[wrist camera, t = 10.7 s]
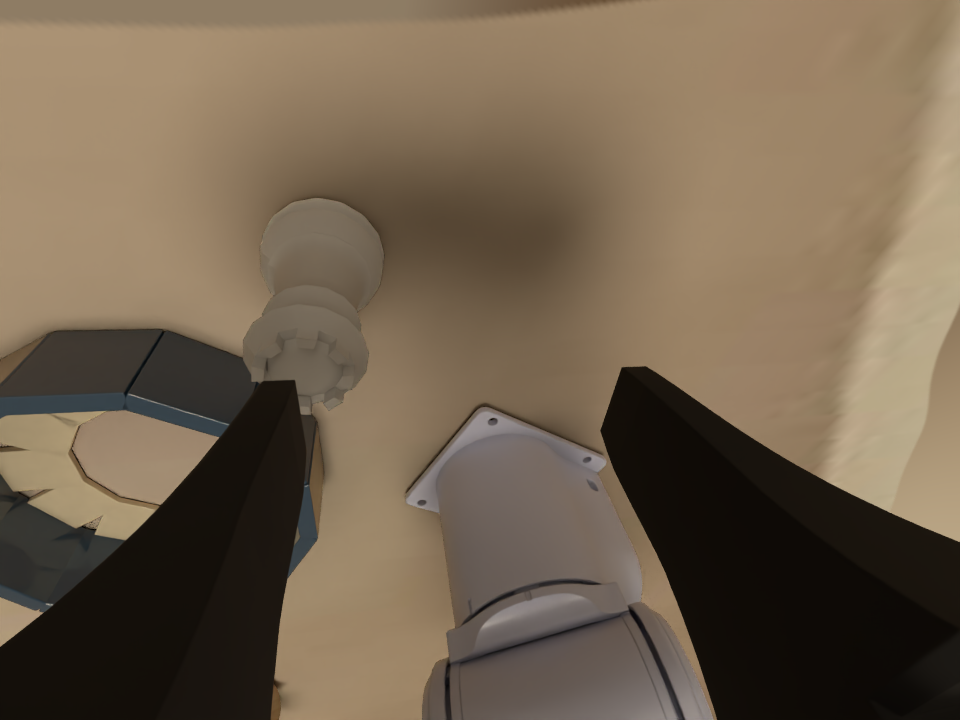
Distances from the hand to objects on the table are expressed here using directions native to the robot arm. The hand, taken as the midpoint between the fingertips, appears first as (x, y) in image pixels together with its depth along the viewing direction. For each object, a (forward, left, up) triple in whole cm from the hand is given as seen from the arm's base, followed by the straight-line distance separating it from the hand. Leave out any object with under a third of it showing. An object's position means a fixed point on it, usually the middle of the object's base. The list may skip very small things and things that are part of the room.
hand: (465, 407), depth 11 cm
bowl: (+5, +16, -10) cm, 20 cm away
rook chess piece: (+3, +3, -11) cm, 11 cm away
